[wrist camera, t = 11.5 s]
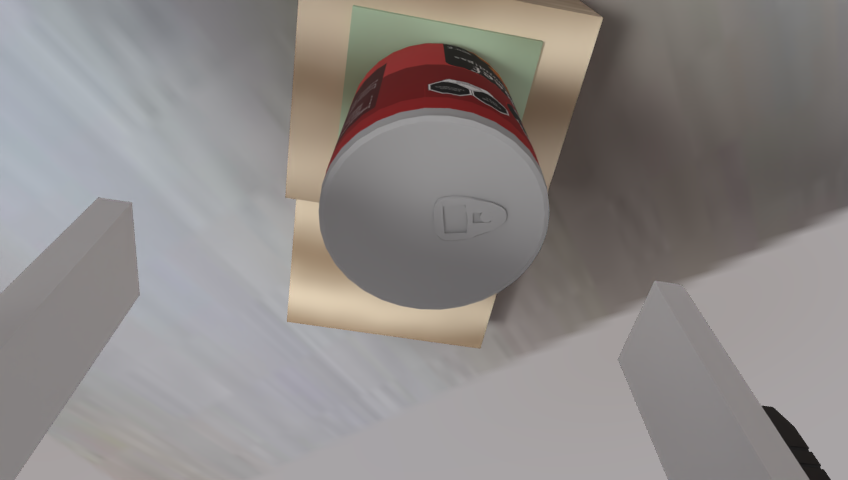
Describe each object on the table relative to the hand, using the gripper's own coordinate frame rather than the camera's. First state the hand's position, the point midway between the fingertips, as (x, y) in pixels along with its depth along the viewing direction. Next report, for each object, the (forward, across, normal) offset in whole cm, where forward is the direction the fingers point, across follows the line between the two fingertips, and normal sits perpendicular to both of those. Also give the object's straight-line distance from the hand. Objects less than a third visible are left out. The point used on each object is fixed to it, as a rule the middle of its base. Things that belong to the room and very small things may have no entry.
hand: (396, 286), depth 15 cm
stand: (+24, +2, -7) cm, 26 cm away
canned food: (+16, +1, -1) cm, 16 cm away
